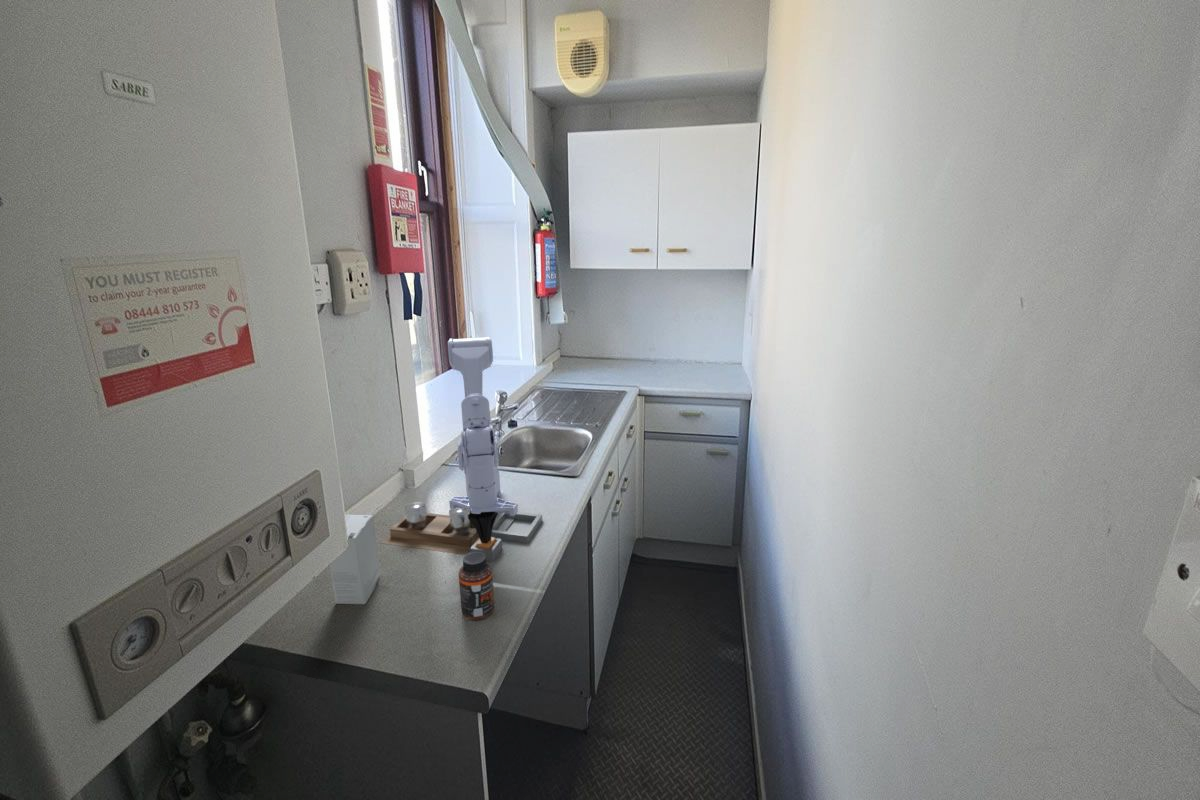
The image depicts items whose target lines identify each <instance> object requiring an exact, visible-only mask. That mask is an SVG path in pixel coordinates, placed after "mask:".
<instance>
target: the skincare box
mask: <svg viewBox="0 0 1200 800" xmlns="http://www.w3.org/2000/svg"><path fill="white" fill-rule="evenodd" d="M344 515H345V521H346V527H347V535H348V547H347V548H346V550H345V551H344V552H343V553H342V554H341V555H340V556H339V557H338V558H337V559H336V560H335V561H333V562H332V563H331V564H330V565H329V564H328V565H329V573H330V579H331V584H332V590H333V591H332V592H333V597H334V603H335V604H338V605H340V604H341V605H365V604H366V603H367V602H368V600H369V598H370V597H371V595H372V594H373V592H374V590H375V589H376V587H377V585H378V583H377V582H378V580H379V579H380V577H381V567H380V559H379V552H378V543H377V535H376V530H375V529H376V528H375V522H374V521H375V520H374V515H371V514H344Z"/></svg>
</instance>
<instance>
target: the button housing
mask: <svg viewBox="0 0 1200 800" xmlns="http://www.w3.org/2000/svg"><path fill="white" fill-rule="evenodd" d="M479 539H480V538H479ZM479 539H478V540H477V541H476V542H475V543H474V545H473V546H472V547H471V548H470V553H472V552H481V553H483V554H484V555H485V556H486V562H492V563H493V562H494V561H495V560H496V559H497V557H498V556H499V554H500V553H501V552H502V551H503V540H502V539H500V538H499V537H495V539H496V543H495V544H494V545H493V547H492V548H491V549H485V548H478V547H477V544H476V543H477V542H478V541H479Z"/></svg>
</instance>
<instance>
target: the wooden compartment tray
mask: <svg viewBox="0 0 1200 800" xmlns="http://www.w3.org/2000/svg"><path fill="white" fill-rule="evenodd" d="M426 516H427V526H426V527H425V528H424V529H423V530H414V529H408V528H407V520H406V514H405V515H404V516H403V517H401V519H399V521H397V522H396V523H394V524H393V525H392V526H391V527H390V528H389V535H388V536H386V537H385V538H384V539H383V540H381V542H380V544H385V545H392V546H399V547H407V548H414V549H421V550H427V551H434V552H435V551H436V552H441V553H442V552H443V553H444V552H445V553H449V554H450V553H451V554H456V555H457V554H458V555H464V556H465V555H467V554H469V553H471V552H470V548H471V547H472V546H473V545H474V543H475V542H476V541H477V540H478V539H479V535H478V533H477V531H476V529H475V527H474V525H473V524H472V523H471V522H470V523H471V533H470V534H469V535H468V536H460V535H452V534H451V527H450V516H449V514H448V515H446V514H438V513H429V512H426Z"/></svg>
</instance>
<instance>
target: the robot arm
mask: <svg viewBox="0 0 1200 800" xmlns="http://www.w3.org/2000/svg"><path fill="white" fill-rule="evenodd" d="M447 353H448V363H449V366H450V367H451V369H452V370H454V371H458V372H460V374H461V375H462V378H463V379H462V380H463V387H464V399H463V400H462V401H461V404H460V405H461V407H460V408H461V418H462V419H461V420H462V422H461V423H462V431H461V432H460V434H461V437H460V438H459V439H458V441H457V461H458V469H459V470H461V471H463V472H464V478H465V488H466V495H465V496H457V495H455V496H452V497H451V498H450V499H449V500H448V502H449V510H450V509H455V508H464V509H469V511H470V514H469V515H468V519H469V520H470V522H471V523H472V524H473V525H474V527H475V529H476V531H477V533H478V535H479V538H480V540H481V543H488V541H489V540H490V539H491V533H492V528H493V525H494V522H495V519H496V518H497V517H498V515H499V514H500V513H507V514H510V516H515V515H516V513H517V512H519V511H518V510H519V509H518V503H517V502H511V501H508V500H505V499H502V498H499V497H500V496H501V495H502V494H503V493H504V490H501V481H500V480H501V479H500V470H499V467H498V466H499V463H500V461H499V450H498V443H497V438H496V434H495V429H494V426H493V421H492V420H491V409H490V401H489V400H488V399H489V398H487V397H485V396H484V395H483V371H485V370H487V369H489V368H491V366H492V364H493V363H494V349H493V341H492V338H490V336H486V337H473V338H471V337H469V338H449V340H448V341H447ZM498 496H499V497H498Z"/></svg>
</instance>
